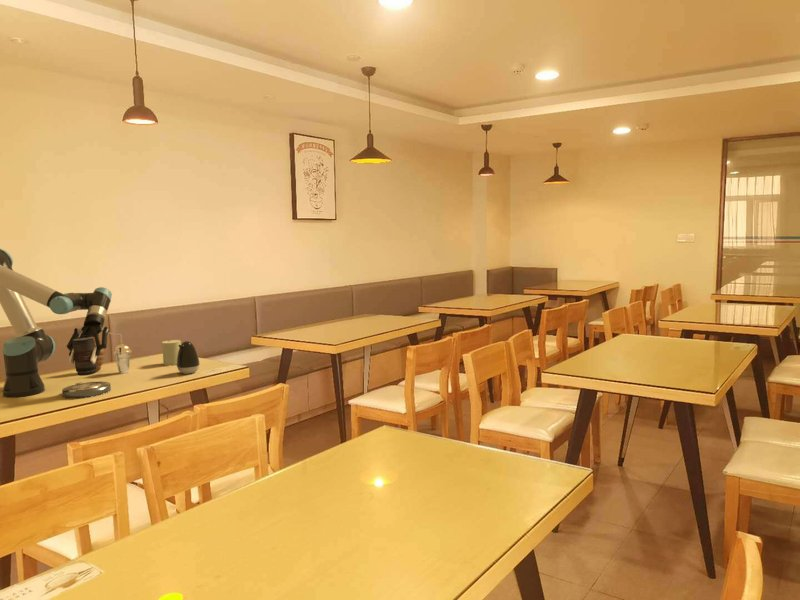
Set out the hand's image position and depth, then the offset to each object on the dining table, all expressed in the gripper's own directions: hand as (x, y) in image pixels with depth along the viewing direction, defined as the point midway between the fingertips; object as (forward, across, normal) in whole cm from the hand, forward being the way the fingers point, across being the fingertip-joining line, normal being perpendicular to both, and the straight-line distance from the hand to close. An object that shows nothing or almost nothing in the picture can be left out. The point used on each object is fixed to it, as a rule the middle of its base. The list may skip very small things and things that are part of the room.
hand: (81, 362), depth 244 cm
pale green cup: (-30, -18, -50) cm, 61 cm away
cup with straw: (-19, 0, -39) cm, 43 cm away
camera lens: (+2, 0, -6) cm, 7 cm away
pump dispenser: (-13, -33, -33) cm, 49 cm away
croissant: (-23, +15, -42) cm, 50 cm away
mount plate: (+7, +1, -12) cm, 14 cm away
